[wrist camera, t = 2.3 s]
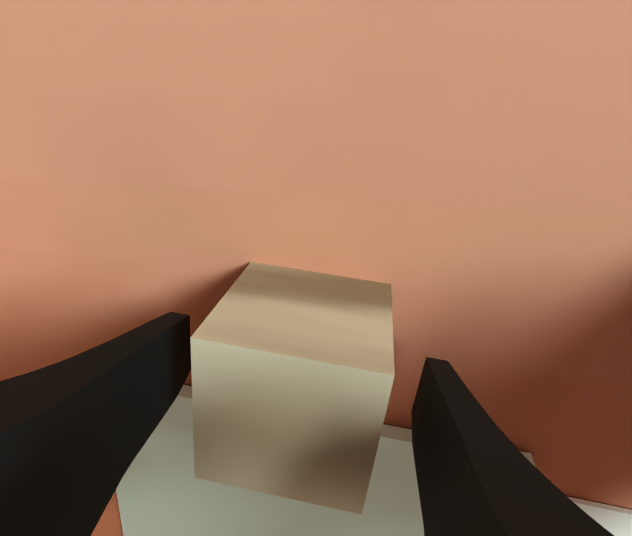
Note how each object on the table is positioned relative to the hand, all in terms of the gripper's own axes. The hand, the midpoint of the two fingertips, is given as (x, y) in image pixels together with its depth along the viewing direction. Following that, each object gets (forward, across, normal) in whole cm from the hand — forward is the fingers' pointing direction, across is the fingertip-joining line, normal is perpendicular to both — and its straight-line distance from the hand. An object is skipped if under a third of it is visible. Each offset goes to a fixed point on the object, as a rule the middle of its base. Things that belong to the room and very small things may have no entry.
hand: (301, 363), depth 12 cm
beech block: (+2, 0, 0) cm, 2 cm away
